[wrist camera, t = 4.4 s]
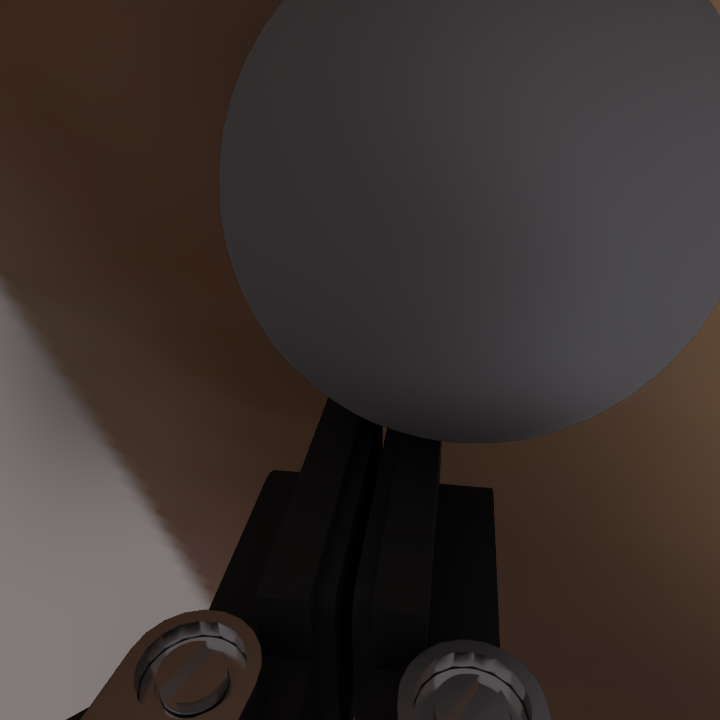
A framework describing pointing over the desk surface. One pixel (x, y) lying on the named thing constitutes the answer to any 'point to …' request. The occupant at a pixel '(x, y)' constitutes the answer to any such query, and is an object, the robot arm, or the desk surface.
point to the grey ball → (477, 203)
